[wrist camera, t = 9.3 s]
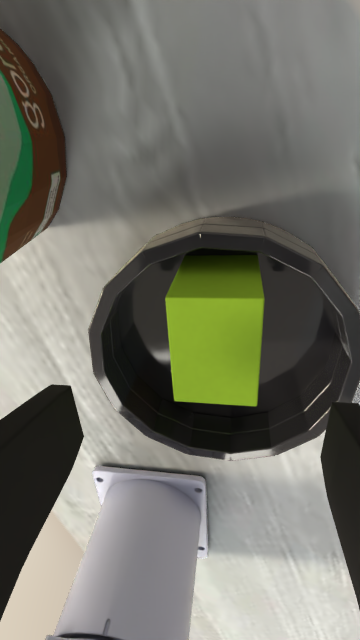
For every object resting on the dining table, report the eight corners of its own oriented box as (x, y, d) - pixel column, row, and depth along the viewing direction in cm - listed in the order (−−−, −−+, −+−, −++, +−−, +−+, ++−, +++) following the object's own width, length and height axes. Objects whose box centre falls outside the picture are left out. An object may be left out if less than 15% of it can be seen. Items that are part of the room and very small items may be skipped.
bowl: (392, 350, 16) (422, 391, 13) (209, 444, 21) (205, 487, 18) (239, 153, 13) (240, 157, 10) (69, 316, 18) (40, 346, 15)
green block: (253, 343, 16) (257, 407, 13) (189, 341, 17) (173, 401, 13) (257, 254, 14) (264, 298, 10) (184, 255, 15) (164, 296, 11)
